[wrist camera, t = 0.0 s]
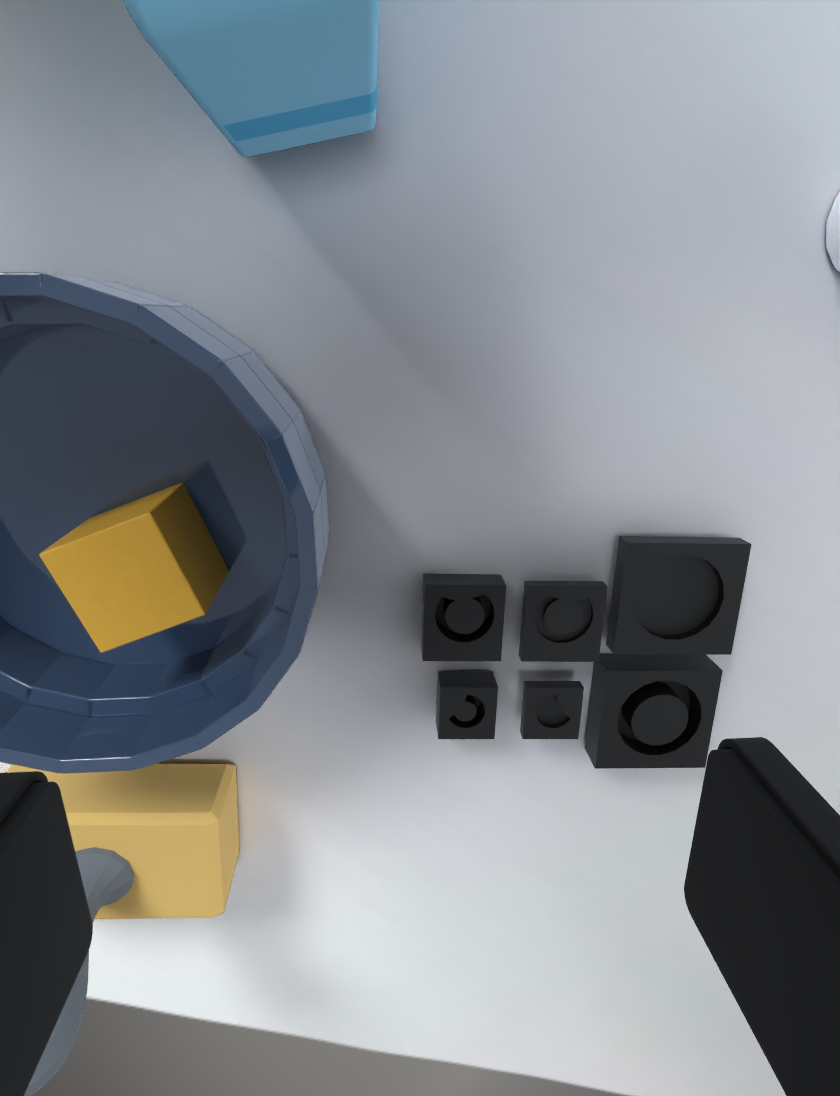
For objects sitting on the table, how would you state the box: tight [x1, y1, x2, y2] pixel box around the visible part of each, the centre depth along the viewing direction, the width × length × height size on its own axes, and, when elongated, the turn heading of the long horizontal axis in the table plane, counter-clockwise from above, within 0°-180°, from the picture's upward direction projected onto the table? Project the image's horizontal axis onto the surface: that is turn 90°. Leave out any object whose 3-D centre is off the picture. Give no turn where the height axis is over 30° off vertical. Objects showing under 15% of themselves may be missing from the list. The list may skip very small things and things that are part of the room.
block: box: [39, 483, 229, 653], centre depth 23 cm, size 4×4×4 cm
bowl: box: [0, 272, 329, 774], centre depth 22 cm, size 16×16×6 cm
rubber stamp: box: [6, 764, 239, 1096], centre depth 25 cm, size 10×6×12 cm, turn 87°
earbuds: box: [421, 193, 840, 768], centre depth 25 cm, size 20×25×3 cm
